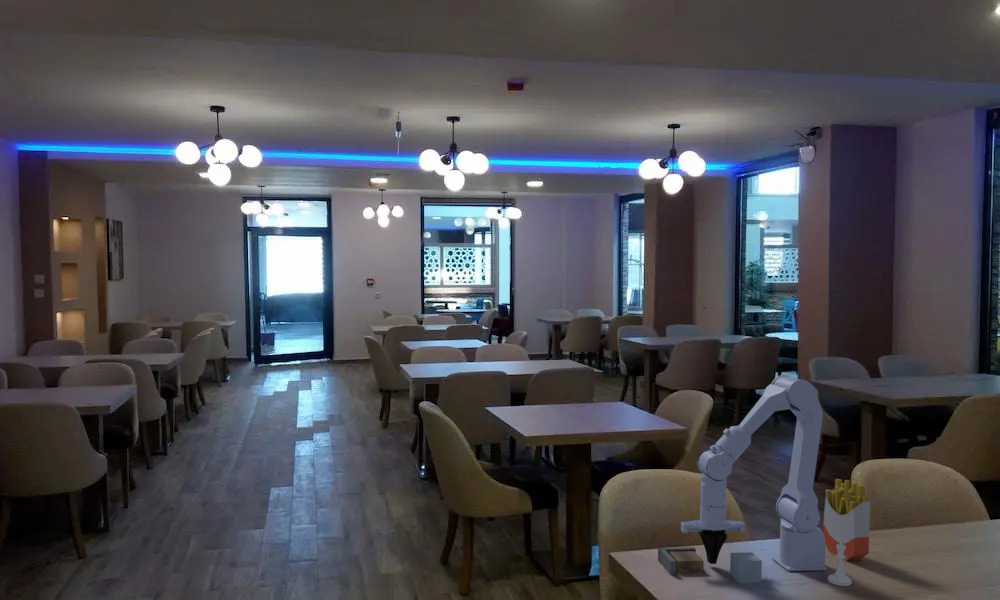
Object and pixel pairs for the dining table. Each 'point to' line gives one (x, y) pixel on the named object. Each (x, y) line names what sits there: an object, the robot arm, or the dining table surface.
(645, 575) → the dining table surface
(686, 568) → the walnut block
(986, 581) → the dining table surface
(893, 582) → the dining table surface
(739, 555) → the blue-grey cube
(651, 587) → the dining table surface
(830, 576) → the chess piece
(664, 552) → the corner jig
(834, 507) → the french fries container
